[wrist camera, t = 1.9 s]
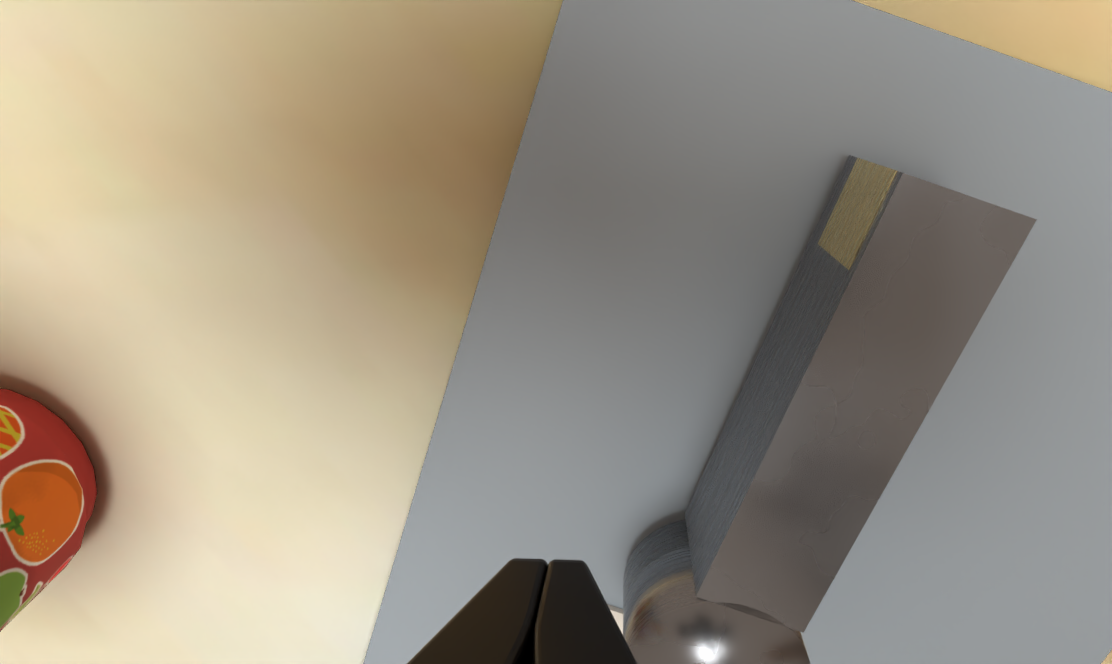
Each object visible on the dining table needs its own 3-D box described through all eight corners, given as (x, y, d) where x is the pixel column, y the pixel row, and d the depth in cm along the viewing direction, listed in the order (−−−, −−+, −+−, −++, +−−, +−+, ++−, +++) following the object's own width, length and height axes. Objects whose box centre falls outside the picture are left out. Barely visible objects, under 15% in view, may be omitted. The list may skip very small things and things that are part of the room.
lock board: (1400, 203, 17) (1455, 212, 16) (836, 968, 27) (846, 1006, 26) (592, -83, 17) (590, -95, 16) (324, 801, 27) (311, 833, 26)
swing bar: (744, 667, 21) (765, 771, 18) (601, 619, 21) (597, 715, 18) (994, 205, 16) (1083, 235, 13) (811, 141, 16) (856, 156, 13)
